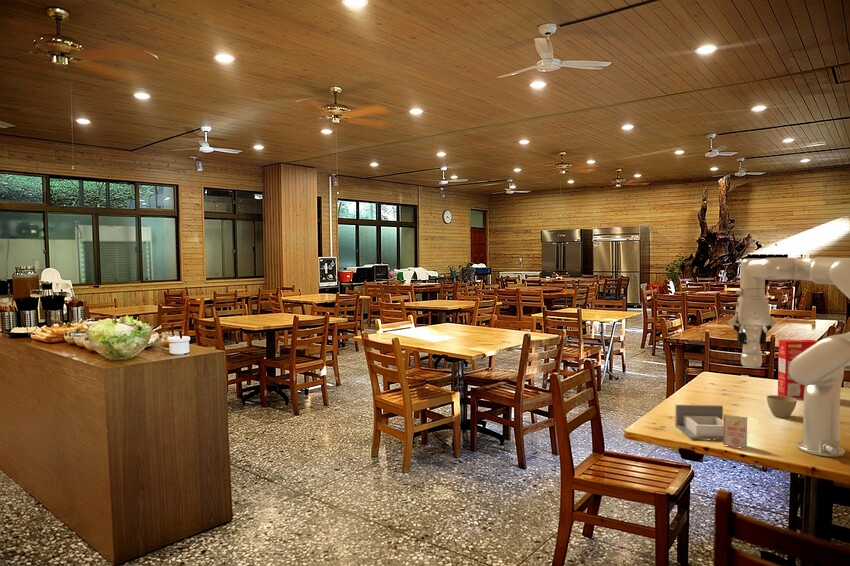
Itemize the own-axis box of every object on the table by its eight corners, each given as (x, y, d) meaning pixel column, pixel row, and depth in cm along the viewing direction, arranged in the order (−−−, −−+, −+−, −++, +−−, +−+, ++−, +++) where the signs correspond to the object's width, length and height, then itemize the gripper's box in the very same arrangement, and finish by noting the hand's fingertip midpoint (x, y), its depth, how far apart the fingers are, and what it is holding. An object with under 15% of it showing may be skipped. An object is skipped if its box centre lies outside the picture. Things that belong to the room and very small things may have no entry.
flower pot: (782, 420, 216) (782, 402, 216) (760, 414, 226) (760, 396, 226) (802, 418, 219) (803, 400, 219) (780, 411, 229) (780, 394, 228)
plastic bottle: (765, 369, 200) (766, 312, 199) (743, 368, 201) (744, 312, 200) (758, 366, 206) (759, 310, 205) (737, 365, 207) (738, 310, 206)
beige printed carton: (723, 442, 192) (723, 413, 192) (746, 445, 189) (747, 415, 188) (723, 446, 189) (723, 416, 188) (746, 449, 186) (747, 418, 185)
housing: (740, 441, 194) (740, 417, 193) (691, 440, 195) (691, 416, 195) (720, 427, 209) (720, 405, 209) (675, 426, 211) (675, 404, 211)
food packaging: (811, 395, 255) (812, 339, 254) (819, 398, 249) (820, 341, 248) (777, 395, 255) (778, 339, 254) (784, 398, 250) (786, 341, 249)
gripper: (731, 294, 199) (730, 345, 200) (783, 293, 198) (782, 345, 198) (722, 292, 207) (721, 342, 208) (773, 292, 205) (772, 342, 206)
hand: (751, 343), depth 203 cm, fingers closed on plastic bottle, 6 cm apart
